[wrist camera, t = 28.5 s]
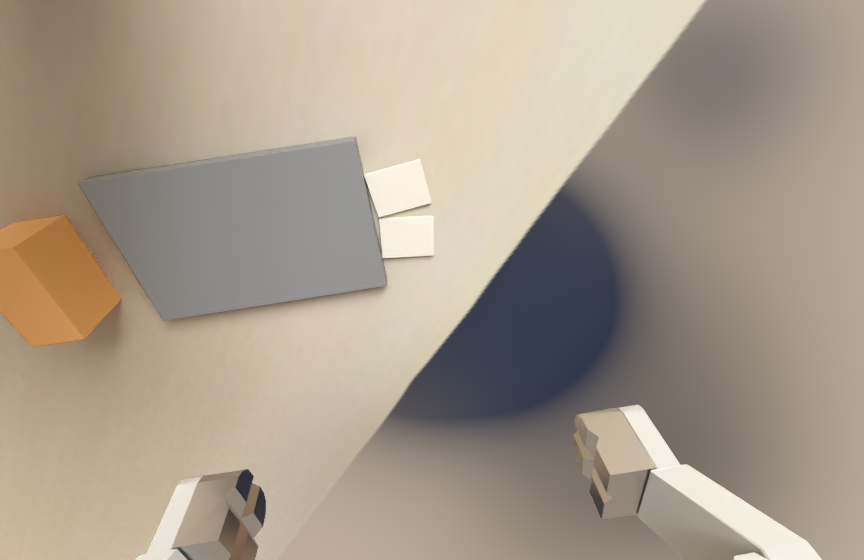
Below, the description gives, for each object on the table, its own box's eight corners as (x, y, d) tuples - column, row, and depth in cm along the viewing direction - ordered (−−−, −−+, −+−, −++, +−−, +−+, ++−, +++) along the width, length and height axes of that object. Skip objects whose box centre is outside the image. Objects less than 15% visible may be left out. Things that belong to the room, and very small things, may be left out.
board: (170, 311, 41) (163, 321, 40) (89, 177, 34) (77, 183, 32) (386, 277, 42) (386, 285, 40) (355, 136, 34) (354, 141, 33)
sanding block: (121, 298, 40) (84, 339, 35) (75, 305, 40) (31, 347, 35) (65, 214, 35) (12, 247, 30) (13, 222, 35) (-49, 257, 30)
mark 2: (382, 253, 41) (382, 258, 40) (379, 215, 39) (379, 220, 38) (432, 250, 41) (433, 255, 40) (432, 213, 39) (433, 217, 38)
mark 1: (378, 212, 38) (378, 217, 38) (364, 172, 36) (364, 176, 35) (430, 198, 38) (431, 202, 37) (419, 156, 36) (420, 160, 35)
